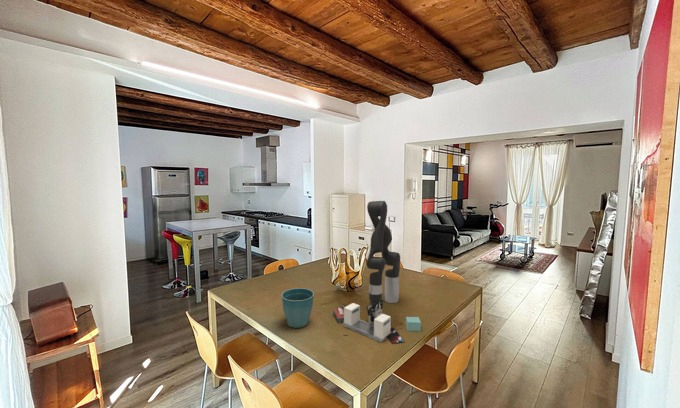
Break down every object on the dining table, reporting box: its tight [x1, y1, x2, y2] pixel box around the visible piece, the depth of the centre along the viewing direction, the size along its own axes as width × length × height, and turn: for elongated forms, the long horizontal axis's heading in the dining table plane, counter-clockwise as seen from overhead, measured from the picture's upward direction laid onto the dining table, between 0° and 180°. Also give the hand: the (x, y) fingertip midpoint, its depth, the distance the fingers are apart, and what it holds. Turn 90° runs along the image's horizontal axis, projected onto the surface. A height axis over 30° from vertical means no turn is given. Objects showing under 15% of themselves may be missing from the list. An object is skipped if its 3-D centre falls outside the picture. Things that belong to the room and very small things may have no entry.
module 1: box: [344, 302, 361, 325], centre depth 161 cm, size 8×5×9 cm, turn 140°
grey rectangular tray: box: [342, 319, 391, 343], centre depth 155 cm, size 10×25×2 cm, turn 50°
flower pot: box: [281, 287, 315, 329], centre depth 162 cm, size 18×18×17 cm
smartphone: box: [386, 327, 406, 345], centre depth 150 cm, size 7×1×15 cm
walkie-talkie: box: [333, 303, 345, 324], centre depth 172 cm, size 9×4×20 cm
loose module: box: [368, 308, 383, 325], centre depth 163 cm, size 4×6×8 cm
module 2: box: [373, 313, 392, 339], centre depth 148 cm, size 8×5×9 cm, turn 140°
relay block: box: [405, 316, 422, 332], centre depth 157 cm, size 5×6×7 cm
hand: (375, 319), depth 163 cm, fingers open, 5 cm apart
